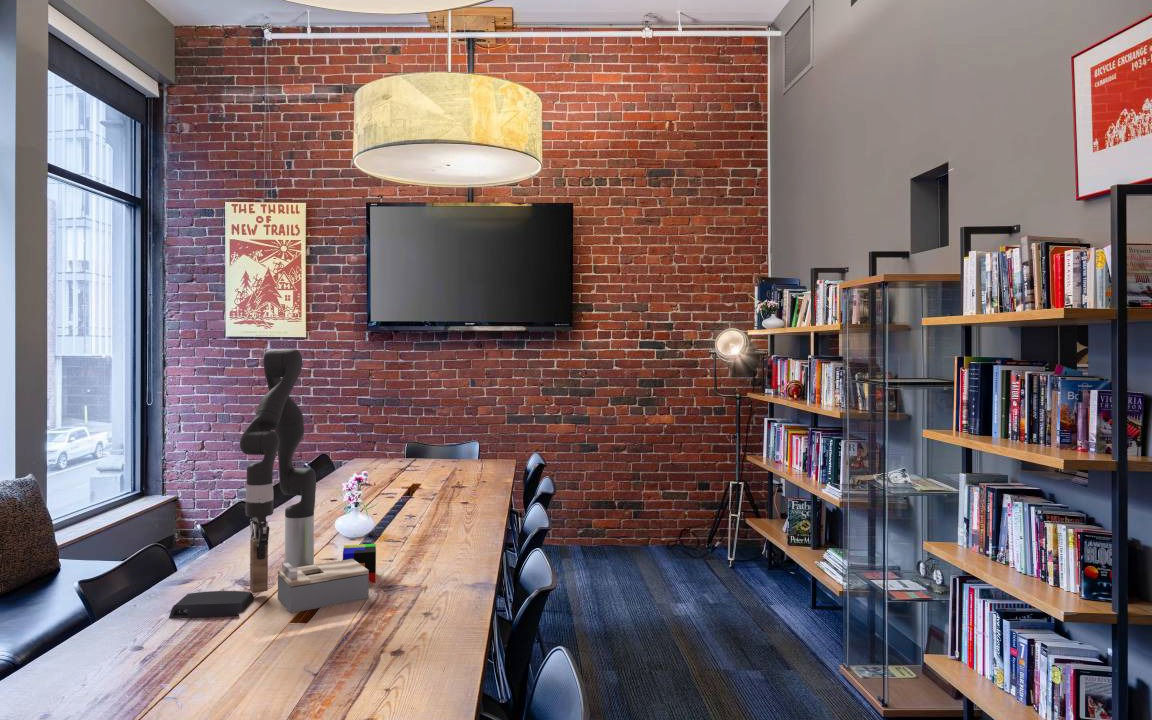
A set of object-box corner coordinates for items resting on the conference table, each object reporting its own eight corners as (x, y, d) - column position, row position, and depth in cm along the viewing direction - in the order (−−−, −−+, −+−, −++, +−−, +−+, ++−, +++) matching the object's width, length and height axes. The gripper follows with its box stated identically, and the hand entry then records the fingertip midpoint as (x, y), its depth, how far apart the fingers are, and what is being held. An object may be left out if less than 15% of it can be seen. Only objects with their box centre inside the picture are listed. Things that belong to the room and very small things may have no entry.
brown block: (250, 589, 219) (250, 538, 219) (264, 587, 221) (264, 536, 221) (253, 593, 216) (253, 541, 216) (267, 590, 218) (267, 539, 218)
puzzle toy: (342, 585, 233) (342, 553, 233) (343, 576, 243) (343, 545, 242) (375, 583, 236) (375, 551, 235) (375, 573, 245) (375, 543, 245)
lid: (277, 573, 217) (277, 562, 217) (352, 561, 230) (352, 550, 230) (290, 586, 205) (290, 574, 205) (368, 573, 218) (368, 561, 218)
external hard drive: (186, 604, 216) (186, 590, 216) (256, 602, 218) (256, 588, 218) (167, 621, 203) (167, 606, 203) (242, 618, 205) (242, 603, 205)
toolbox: (277, 602, 217) (277, 574, 217) (352, 588, 230) (352, 562, 230) (290, 616, 206) (290, 587, 205) (368, 601, 218) (368, 574, 218)
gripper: (240, 496, 222) (240, 553, 222) (251, 504, 210) (250, 565, 211) (267, 493, 226) (266, 549, 226) (279, 501, 215) (278, 561, 215)
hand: (259, 556), depth 218 cm, fingers closed on brown block, 4 cm apart
